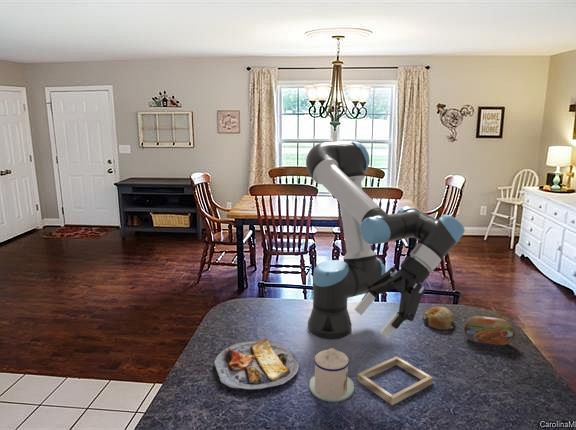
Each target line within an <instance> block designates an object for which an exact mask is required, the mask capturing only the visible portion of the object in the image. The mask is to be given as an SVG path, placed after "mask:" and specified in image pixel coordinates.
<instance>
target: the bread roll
mask: <svg viewBox="0 0 576 430" xmlns="http://www.w3.org/2000/svg"><path fill="white" fill-rule="evenodd" d="M422 320H423V321H424V323H425V324H426V325H427V326H429V327H431V328H433V329H434V330H441V331H442V330H445V331H446V330H451V329H453V328H454V324H455V315H454V314H453V312H452V311H451V310H450V309H448V308H447V307H444V306H433V307H430V308H429V309H427V310H426V311H425V312H424V314H423V317H422Z"/></svg>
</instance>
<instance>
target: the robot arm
mask: <svg viewBox="0 0 576 430" xmlns="http://www.w3.org/2000/svg"><path fill="white" fill-rule="evenodd" d="M369 165H370V155H369V152H368V150H367V148H366V146H364V145H363V144H362V143H361V142H359V141H351V140H347V141H331V142H329V141H327V142H326V141H324V142H320V143H318V144H316V145H314V146H312V148H311V149H310V150H309V152H308V154H307V156H306V160H305V167H306V171H307V172H308V175H309V176H310V178H311V179H312V180H313V181H314V182H315V183H316V184H318V185H322V186H323V187H324V188H325V190H327V191H328V192H329V193H330V194H331V195H332V196H333V197H334V199H336V200H337V201H338V203H339V207H340V215H341V221H342V229H343V236H344V242H345V249H346V253H345V255H343V257H342V258H343V260H341V259H335V260H333V259H329V260H324V261H322V262H320V263H318V264H317V265H316V266H315V268H314V269H313V274H312V275H313V277H312V283H313V284H312V285H313V286H312V295H313V296H312V299H313V300H312V309H311V312H310V316H309V318H308V320H307V329H308V330H309V331H308V330H307V331H308V332H309V333H310V334H311V333H312V335H313V336H314V335H315V337H317V338H319V339H320V338H321V339H325V340H338V339H342V337H343V338H345V337H347V336H349V335H350V334H351V332H352V325H353V323H352V320H351V317H350V314H349V310H348V300H349V299H350V298H354V297H356V296H360V295H361V296H362V295H364V296H363V297H362V298H361V300H360V302H359V303H358V304H357V306H355V308H354V311H355V312H356V313H357V314H359V315H360V316H362V315H363V314H364V313H365V312H366V310H367V309H368V308H369V307H370V306H371V304H372V303H373V302H374V301H375V300H376V298H377V296H378V295H381V294H383V293H386V292H388V291H390V290H397V291H399V292H400V293H401V294H400V300H399V309H398V311H397V312H395V313H394V314H393V315H392V316H391V317H390V319H389V320H388V321H387V322H386V323H385V325H384V326H383V327H382V328H381V329H380V331H379V333H380V334H381V335H382V336H383V337H385V339H388V338H389V337H390V336H391V335H392V333H393V332H394V331H395V330H397V329H399V327H400V326H401V325H402V324H403V323H404V321H409V322H413V321H414V319H415V318H416V317H415V316H416V314H417V310H418V308H419V304H420V302H421V299H422V297H423V295H424V294H425V292H426V291H427V290H426V287H424V286H423V283H424V282H425V281H426V280H427V278H428V277H429V276H430V275H431V274H430V273H431V272H433V271H434V270H435V269H436V267H437V266H438V265H439V264H440V263H441V262H442V260H443V259H444V258H445V257H446V255H447V254H448V253H449V252H450V251H451V250H452V248H453V247H454V246H456V244H458V242H459V240H460V239H461V237H462V236H463V235H464V233H465V231H466V230H465V226H464V225H463V224H462V223H461V222H460V221H459V219H457V218H455V217H454V216H453V215H450V214H442V215H441V216H440V217H439V218H438V219H437V218H435V217H433V216H430V215H429V214H428V213H427V214H426V213H425V212H422V211H421V210H420V209H418V208H415V207H411V206H407V205H406V206H402V208H401V209H398V210H397V212H395V213H393V214H392V213H391V214H389V213H387V212H386V211H385V210H384V209H382V208H381V206H379V205H378V204H377V203H376V202H375V201H374V200H373V199H372V198H371V197H370V196H369V195H367V193H366V192H365V191H364V190H363V185H362V181H363V180H364V179H365V177H366V175H365V172H366V171H368V169H369ZM410 238H411V239H412V238H415V239H417V240H418V241H419V242H418V244H417V245H416V246H415V247H414V248H413V250H412V251H411V252H410V253H409V255H410V256H407V257H406V258H405V259H404V260H403V261H402V262H401V264H400V269H399V270H397V269H396V268H395V267H394V266H392V267H390V268H389V269H388V270H386V266H385V264H384V263H383V260H381V259H380V258H379V257H377V253H376V252H375V251H374V250H372V247H371V245H376V244H379V245H380V244H385V243H388V242H395V241H399V240H405V239H410Z"/></svg>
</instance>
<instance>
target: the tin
mask: <svg viewBox="0 0 576 430" xmlns="http://www.w3.org/2000/svg"><path fill="white" fill-rule="evenodd" d="M463 330H464V331H463V332H464V335H465V336H466V337H467V339H469V340H470V341H472V342H474V343H480V344H489V345H497V346H505V345H509V344H510V343H512V342H513V340H514V339H515V337H516V330H515V328H514V327H513V324H512V323H510V322H509V321H508V320H507V319H504V318H500V317H499V318H498V317H491V316H482V315H473V316H470V317H468V318H467V319H466V320H465V322H464V324H463Z"/></svg>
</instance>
